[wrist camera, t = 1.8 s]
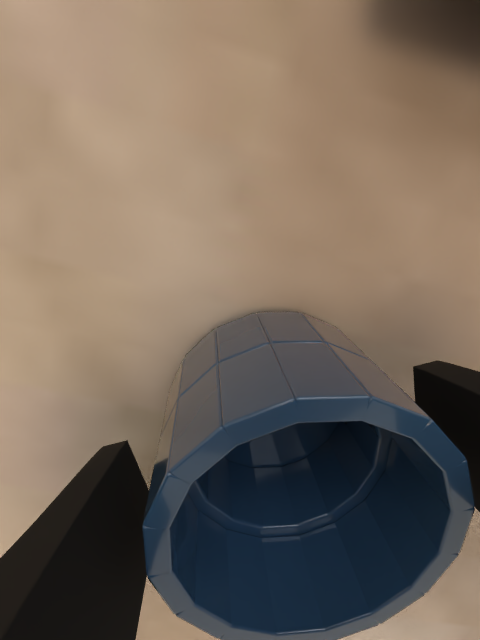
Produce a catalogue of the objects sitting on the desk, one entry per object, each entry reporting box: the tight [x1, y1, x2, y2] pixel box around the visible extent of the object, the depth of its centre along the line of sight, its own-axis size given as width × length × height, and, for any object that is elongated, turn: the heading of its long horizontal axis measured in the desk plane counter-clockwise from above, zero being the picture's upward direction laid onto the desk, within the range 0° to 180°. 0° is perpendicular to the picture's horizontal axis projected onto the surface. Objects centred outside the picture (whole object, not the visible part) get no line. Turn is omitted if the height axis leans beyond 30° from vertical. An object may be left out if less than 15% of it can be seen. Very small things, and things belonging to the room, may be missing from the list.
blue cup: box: [142, 312, 475, 640], centre depth 8 cm, size 6×6×5 cm
